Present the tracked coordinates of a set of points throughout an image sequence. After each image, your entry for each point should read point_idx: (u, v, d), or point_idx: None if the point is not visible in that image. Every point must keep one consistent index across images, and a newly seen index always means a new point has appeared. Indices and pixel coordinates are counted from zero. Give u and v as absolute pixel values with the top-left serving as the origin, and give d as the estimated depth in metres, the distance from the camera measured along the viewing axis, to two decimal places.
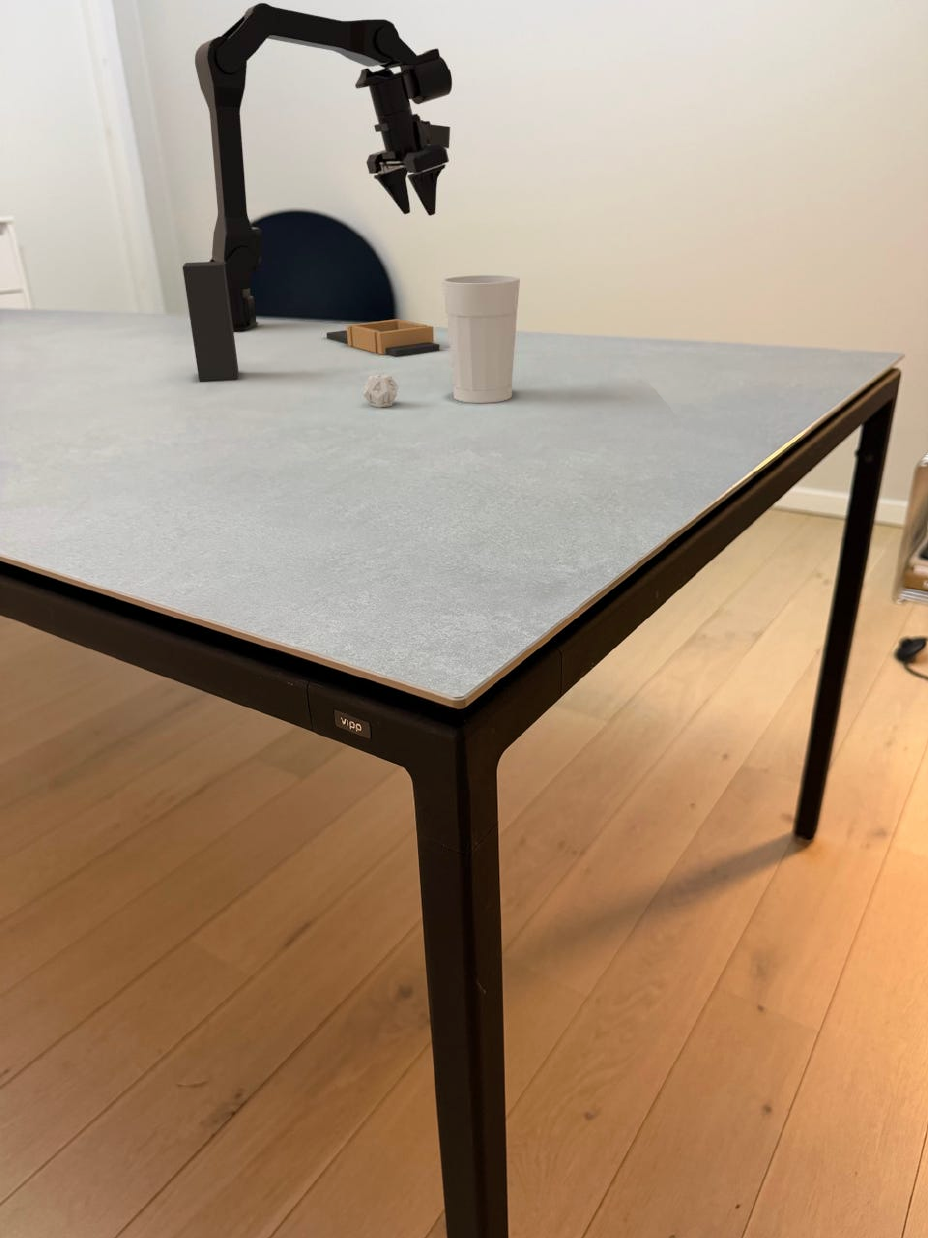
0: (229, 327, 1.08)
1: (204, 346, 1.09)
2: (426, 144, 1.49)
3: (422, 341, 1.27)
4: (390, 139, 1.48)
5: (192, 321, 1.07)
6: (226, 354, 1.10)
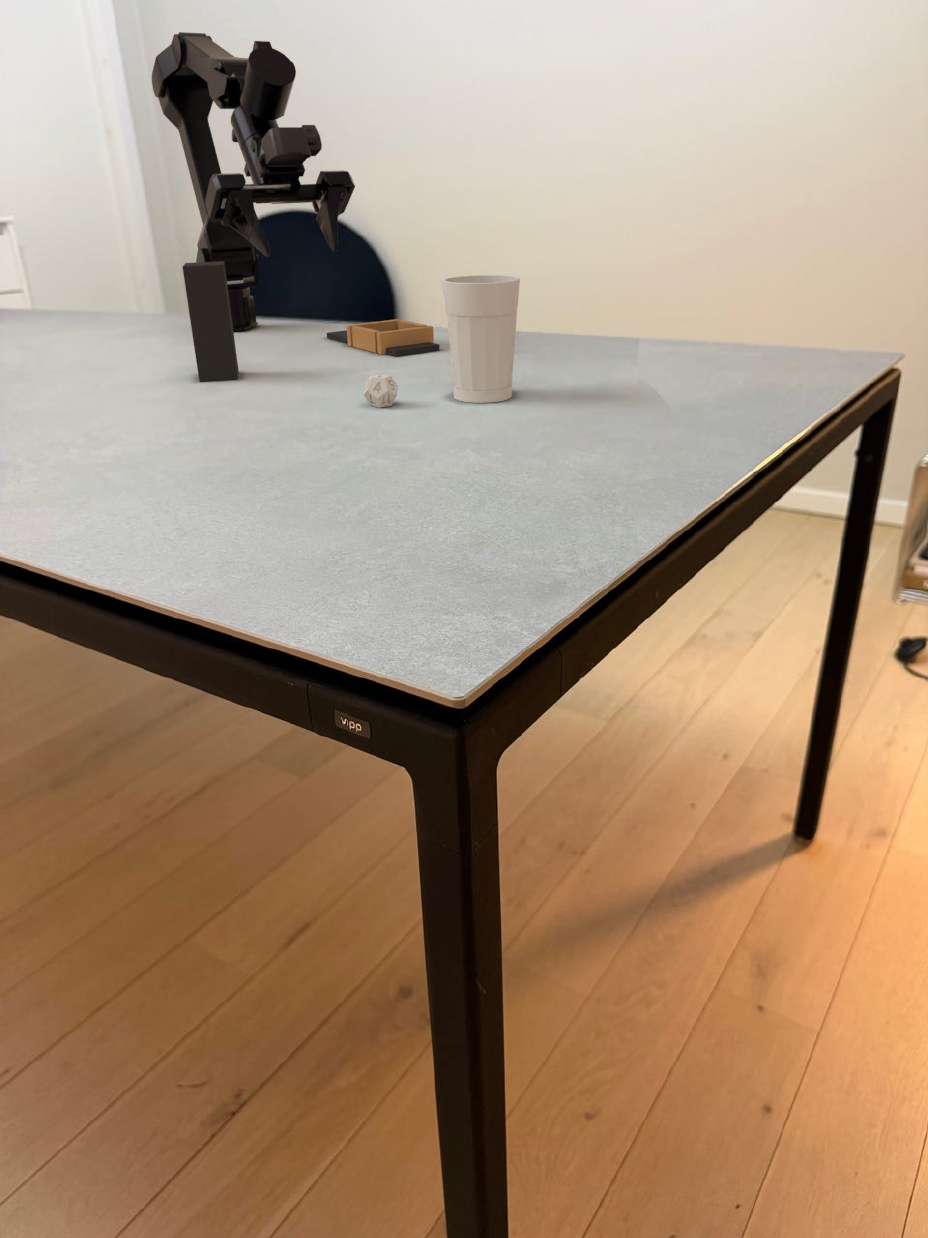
0: (229, 327, 1.08)
1: (204, 346, 1.09)
2: (260, 169, 1.15)
3: (422, 341, 1.27)
4: None
5: (192, 321, 1.07)
6: (226, 354, 1.10)
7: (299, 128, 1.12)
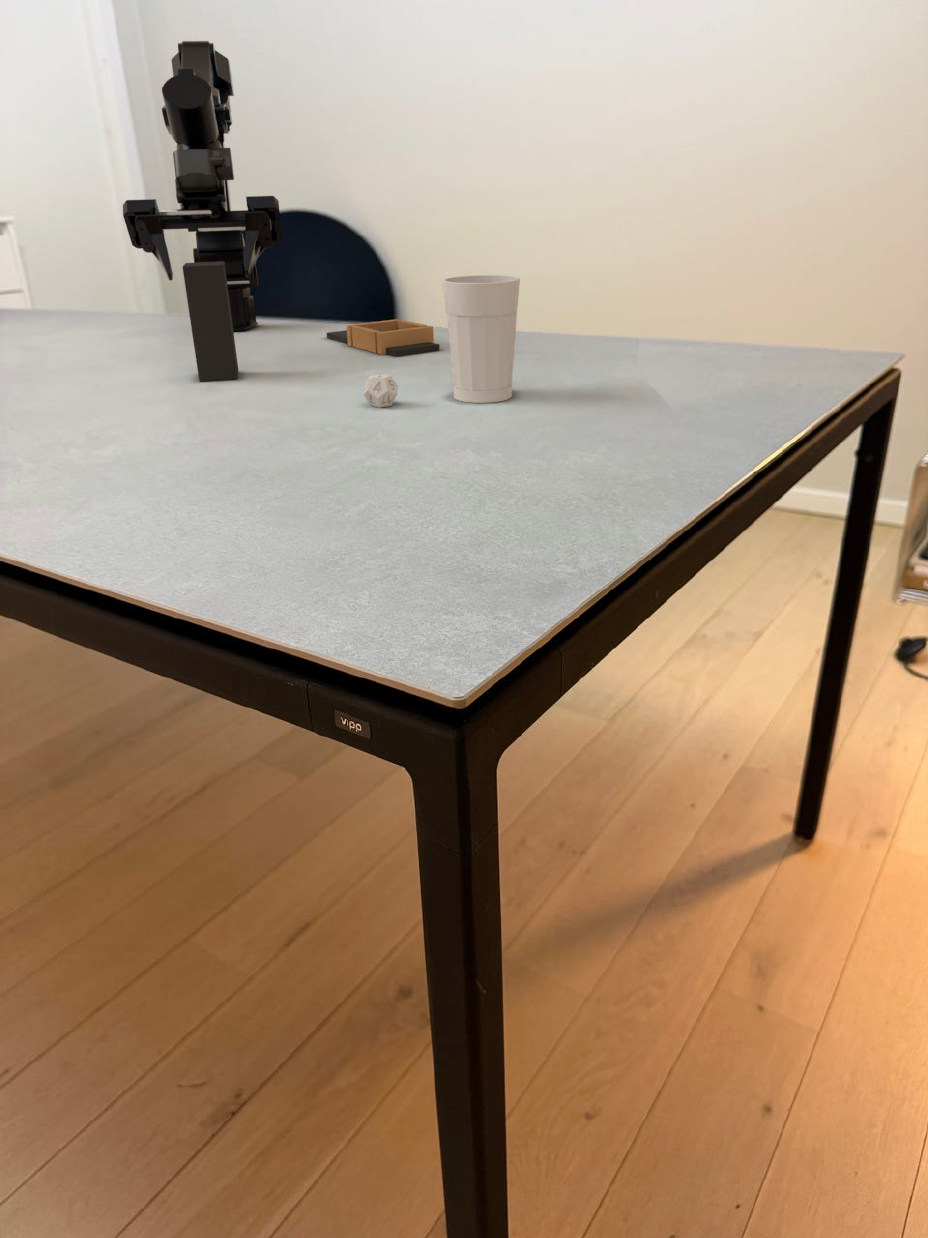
0: (229, 327, 1.08)
1: (204, 346, 1.09)
2: (176, 194, 1.13)
3: (422, 341, 1.27)
4: None
5: (192, 321, 1.07)
6: (226, 354, 1.10)
7: (203, 150, 1.08)
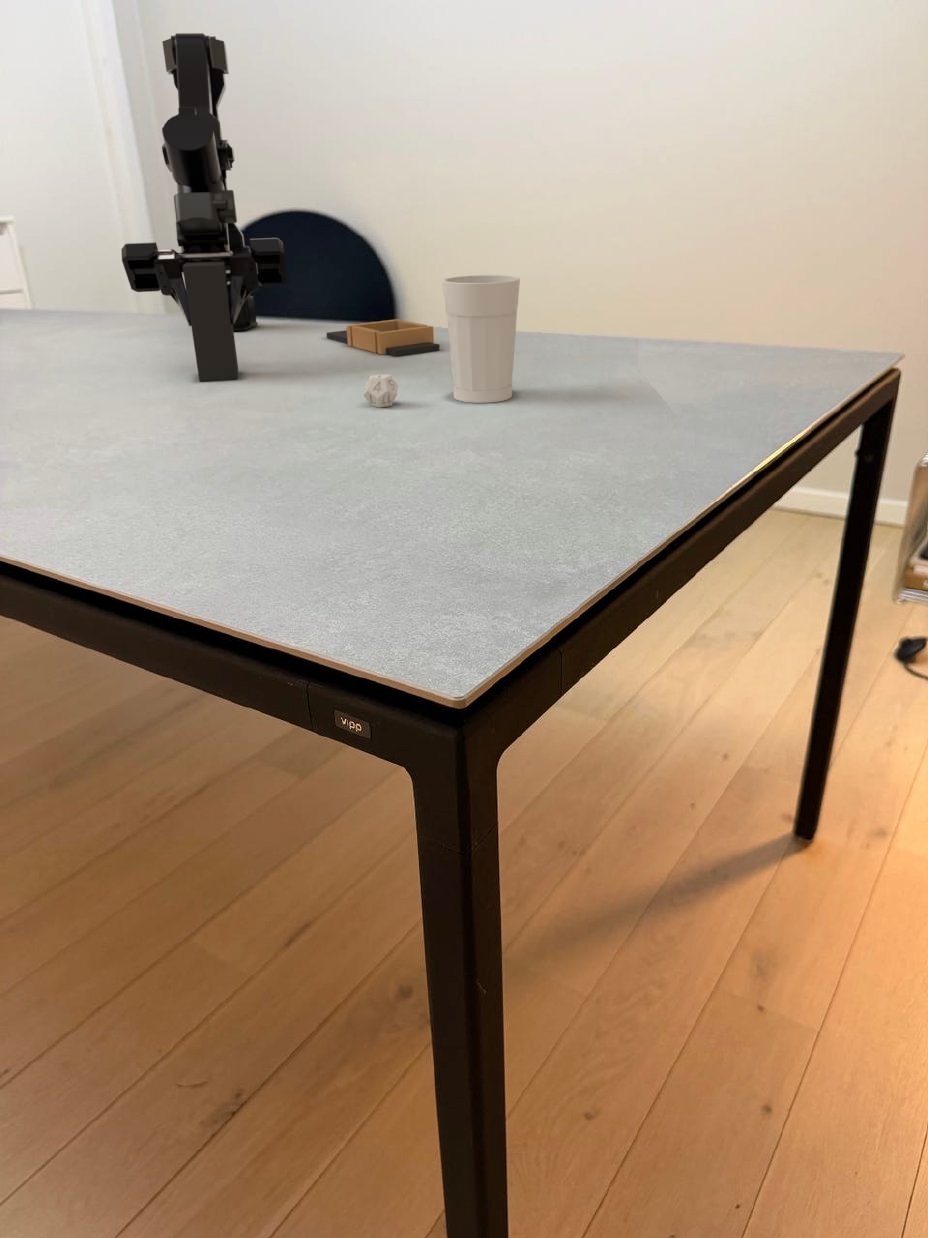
0: (229, 327, 1.08)
1: (204, 346, 1.09)
2: (177, 237, 1.08)
3: (422, 341, 1.27)
4: None
5: (192, 321, 1.07)
6: (226, 354, 1.10)
7: (205, 193, 1.04)
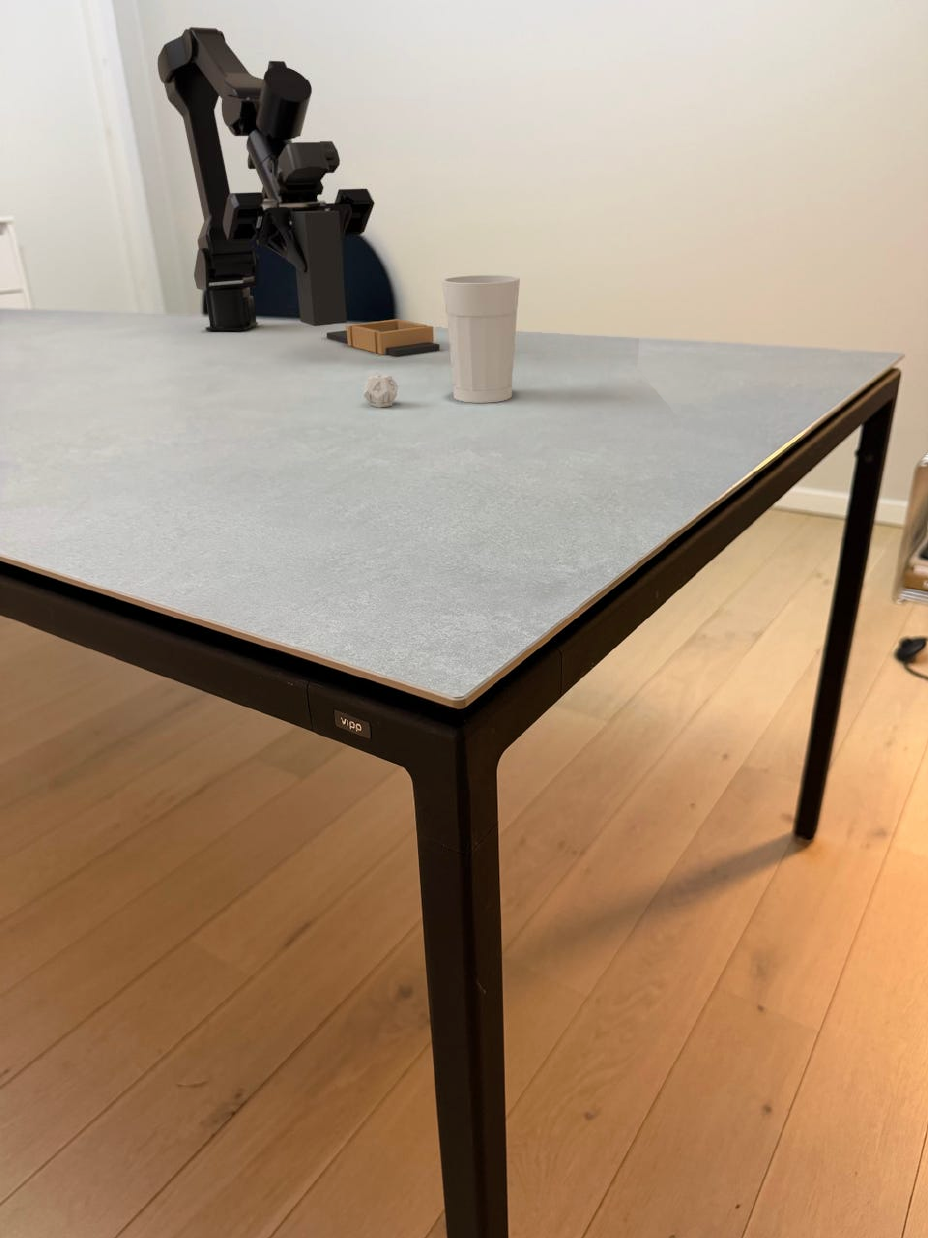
0: (342, 272, 1.14)
1: (320, 291, 1.14)
2: (278, 187, 1.12)
3: (422, 341, 1.27)
4: None
5: (311, 266, 1.12)
6: (338, 298, 1.15)
7: (316, 143, 1.09)
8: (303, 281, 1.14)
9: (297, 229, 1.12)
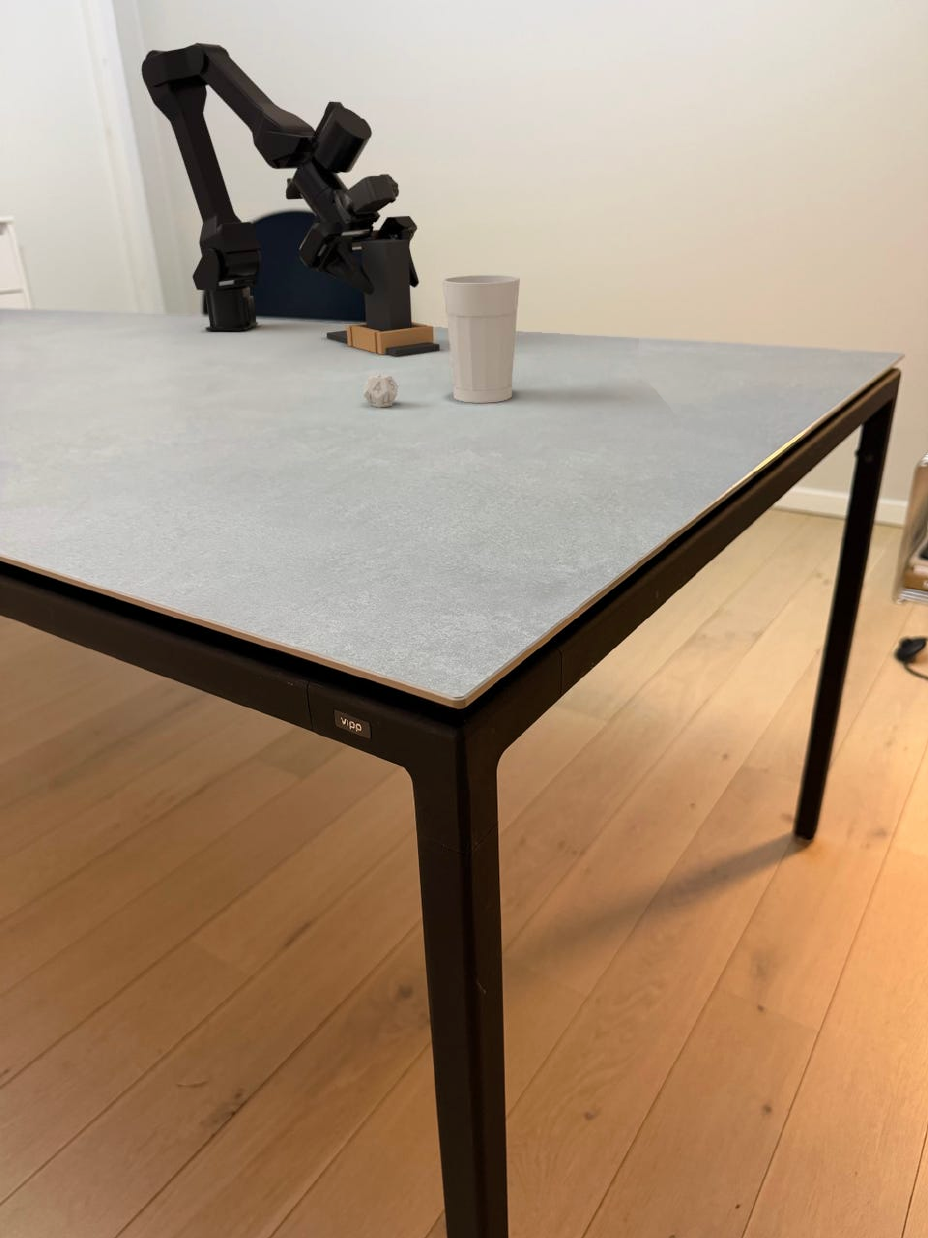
0: (409, 294, 1.27)
1: (395, 312, 1.25)
2: (348, 216, 1.22)
3: (422, 341, 1.27)
4: None
5: (389, 290, 1.23)
6: (407, 318, 1.27)
7: (385, 176, 1.21)
8: (377, 304, 1.25)
9: (372, 257, 1.23)
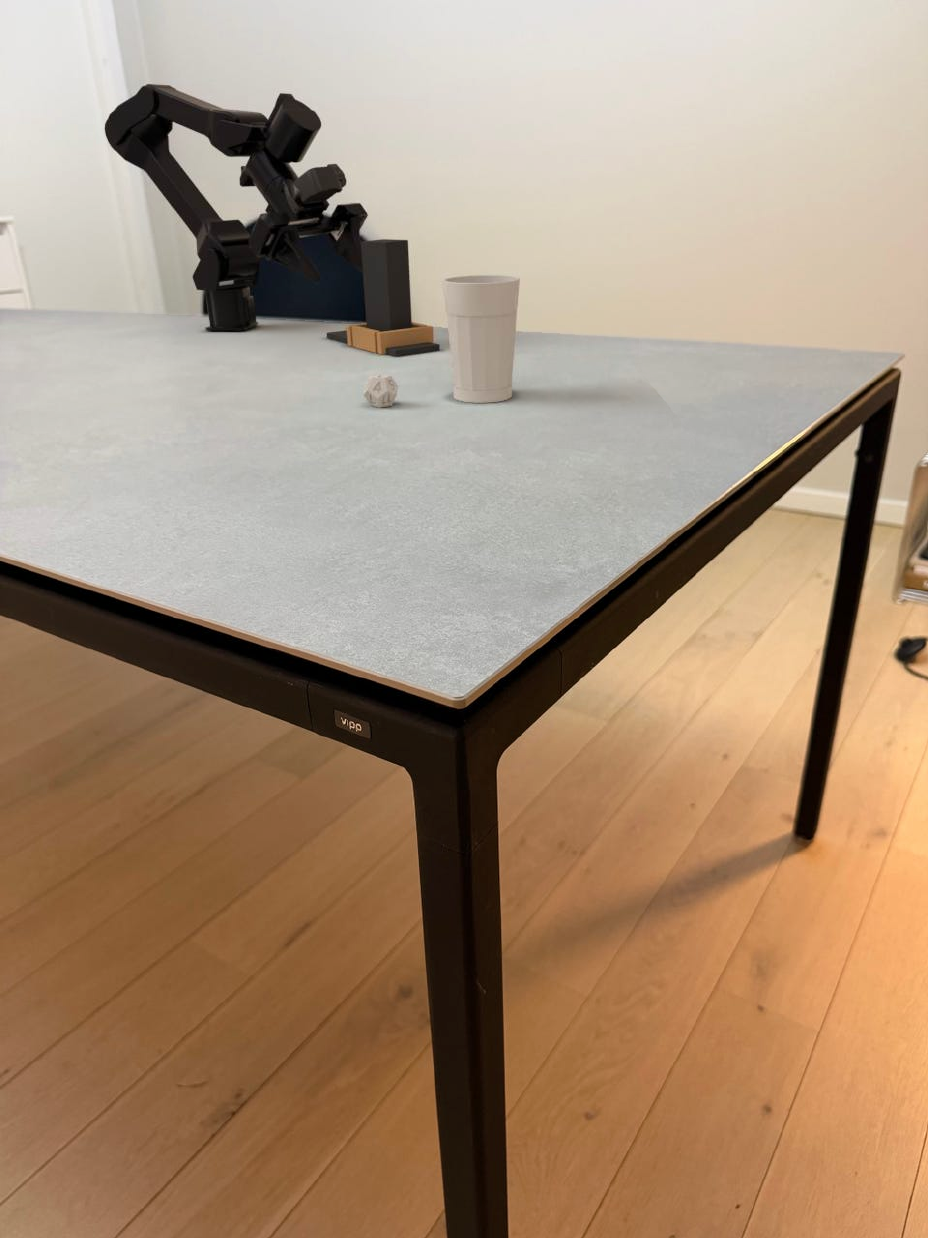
0: (409, 294, 1.27)
1: (395, 312, 1.25)
2: (296, 206, 1.26)
3: (422, 341, 1.27)
4: None
5: (389, 290, 1.23)
6: (407, 318, 1.27)
7: (331, 167, 1.25)
8: (377, 304, 1.25)
9: (372, 257, 1.23)
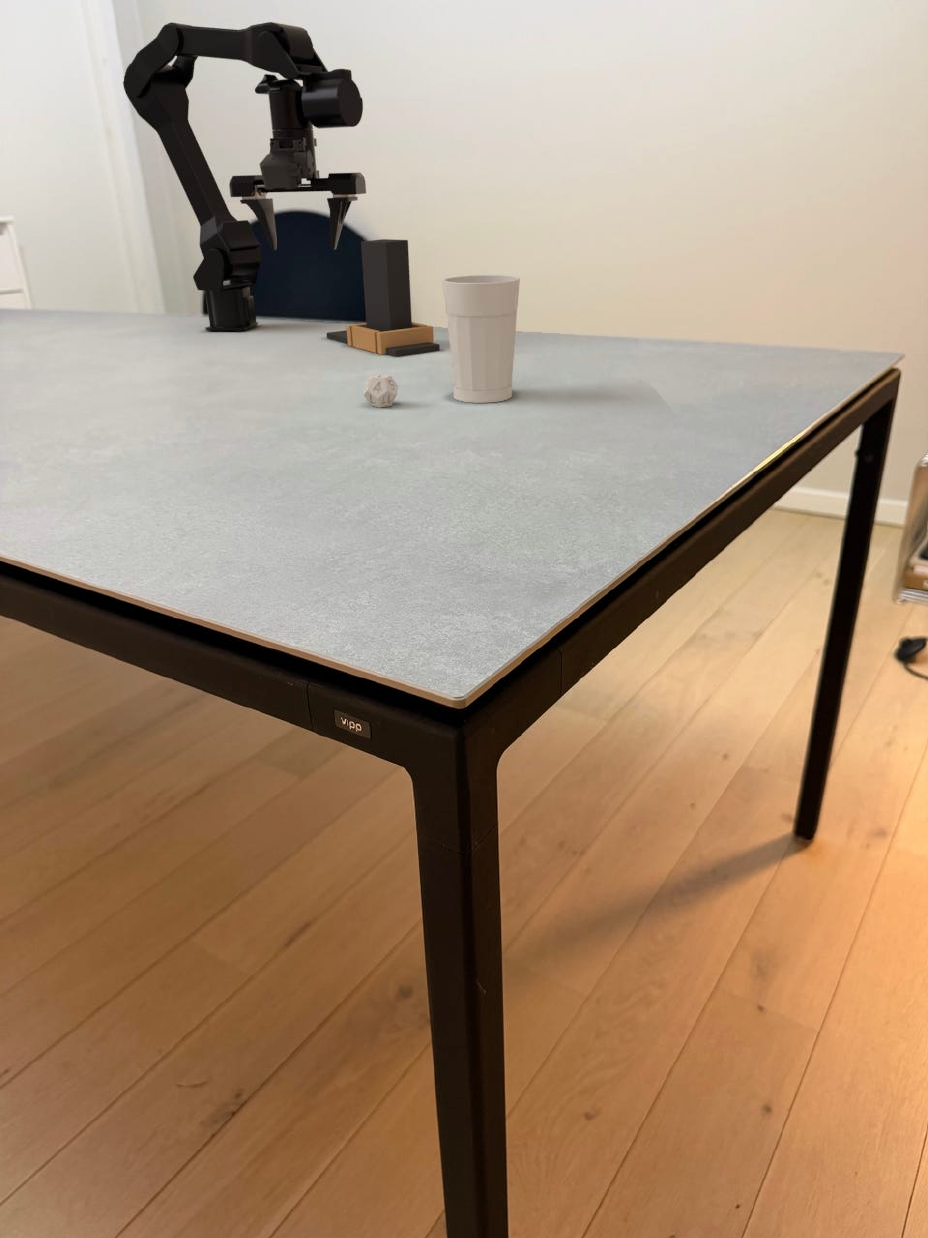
0: (409, 294, 1.27)
1: (395, 312, 1.25)
2: None
3: (422, 341, 1.27)
4: None
5: (389, 290, 1.23)
6: (407, 318, 1.27)
7: (283, 166, 1.23)
8: (377, 304, 1.25)
9: (372, 257, 1.23)
